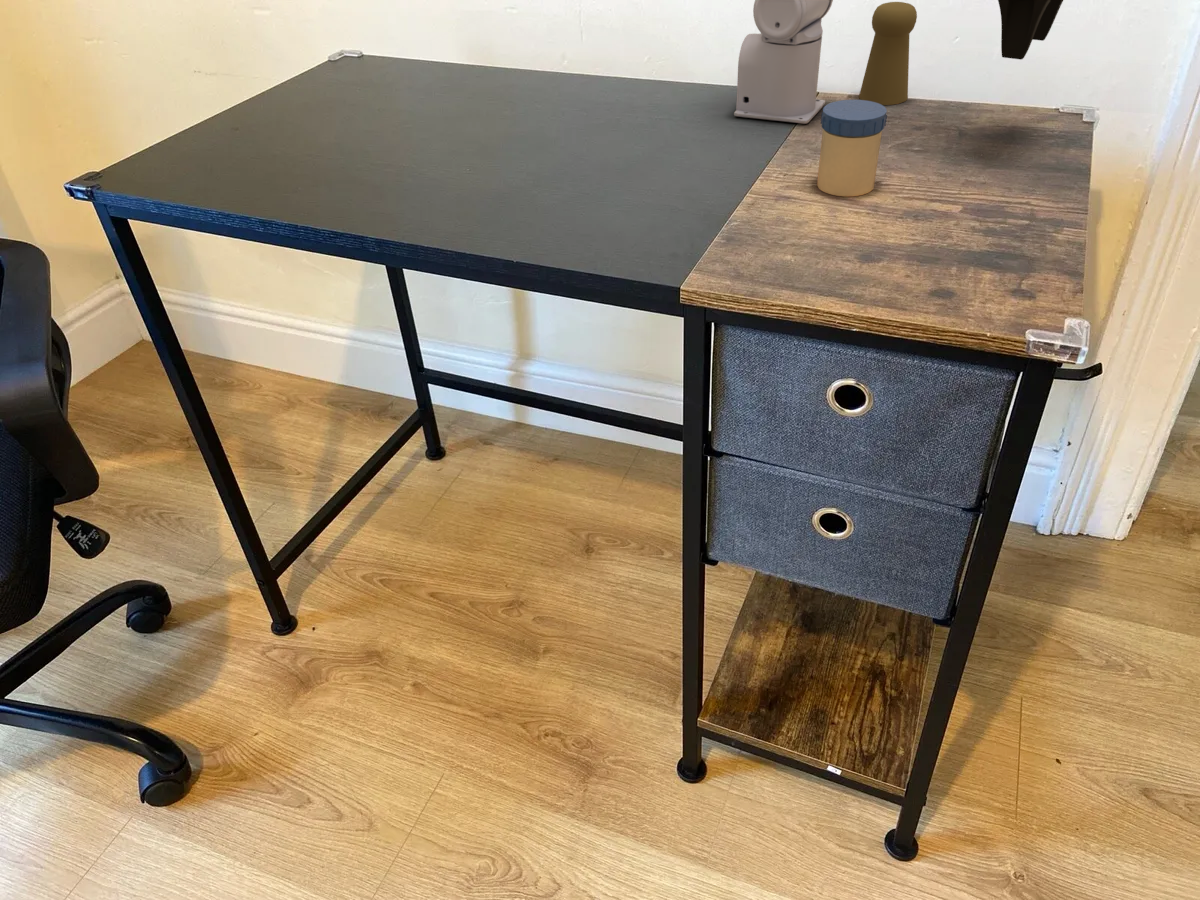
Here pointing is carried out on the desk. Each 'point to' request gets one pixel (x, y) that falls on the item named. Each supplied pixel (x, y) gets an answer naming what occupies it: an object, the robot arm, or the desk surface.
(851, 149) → the jar
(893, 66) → the olive cone figure
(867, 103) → the lid
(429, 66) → the desk surface
